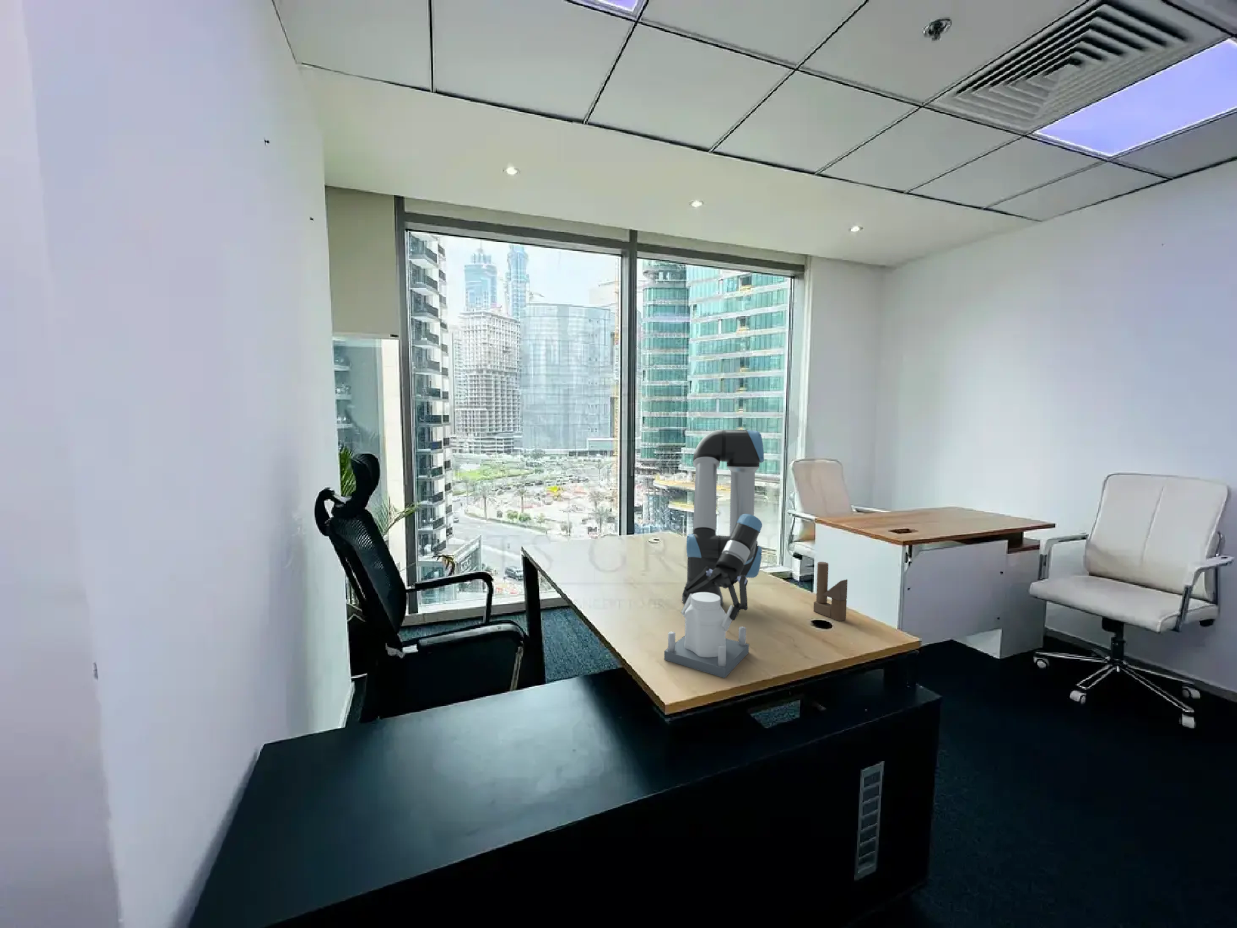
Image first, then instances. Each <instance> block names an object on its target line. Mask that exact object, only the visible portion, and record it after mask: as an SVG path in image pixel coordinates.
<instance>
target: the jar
mask: <svg viewBox="0 0 1237 928" xmlns="http://www.w3.org/2000/svg"><path fill="white" fill-rule="evenodd" d="M720 600H721V598H720V596H718V595H717V594H714V593H708V592H698V593H694V594H692V595H691V604H690V606H689V607H688V608H687V610H686V611H685V617H684V618H685V619H684V624H685V625H684V636H685V644H684V647H685V648H686V649H688V650H691V651H693V652H694V653H696V654H697V655H698V656H699V657H707V658H710V657H718V646H719V645H724V646H726V645H725V638H726V637H727V636H726V632H727V631H725V630H724V629H723V628H722V626H721V625H722V623H723V620H724V618H725V616H726V614H727V612H726V611H725V610H724V608H723V606H722V605H720V604H721V603H720V602H721V601H720Z"/></svg>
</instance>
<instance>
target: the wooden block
mask: <svg viewBox="0 0 1237 928" xmlns="http://www.w3.org/2000/svg"><path fill="white" fill-rule="evenodd" d="M816 567H817V568H816V598H815V600H816V601H814V602H813V612H814V611H815V613H817V614H820V615H822V616H825V617H828V618H831V619H832V620H835V621H837V622H843V621H845V620H847V601H848V600H847V599H848V581H849V580H848V579H847V578H846V579H843V580H842V579H841V580H840V581H839V582H837V583H836V584H835V585H833V586H832V587H831V588H830V589H828V588H829V587H828V585H829V563H828V562H826V561H818V562H817V566H816ZM828 598H831V600H830V601H831V602H829V603H828Z"/></svg>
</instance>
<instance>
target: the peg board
mask: <svg viewBox="0 0 1237 928" xmlns="http://www.w3.org/2000/svg"><path fill="white" fill-rule="evenodd" d="M667 635H668V637H667V648H666V649H665V650H664V654H663V656H664V657H663V659H664V661H668V662H671V663H673V664H674V663H675V664H678V665H680V666H684V667H687V668H691V669H694V670H698V671H700V672H703V673H707V674H710V675H713V676H717V677H720V678H723V679H726V677H727V676H729V675H730V673H731V672H732V671H733V670H734V669H735V668H736V667H737V666H738V665H739V664H740V663H741V662H742V661H743V659H745V657H746V656H747V655H748V654H749V653H750V652H749V651H750V644H749V643H747V642H746V641H747V637H746V636H747V627H746V626H739V627H738V641H737V640H735V639H730V638H726V637H725V645H726V646H724V645H719V646H718V657H710V658H707V657H699V656H698V655H697V654H696V653H694V652H693V651H691V650H688V649H686V648H685V647H684V644H685V635H684V636H683V637H681V638H680V639H678V640H677V641H676V632H675V631H669V632H668V633H667Z"/></svg>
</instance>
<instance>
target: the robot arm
mask: <svg viewBox="0 0 1237 928" xmlns="http://www.w3.org/2000/svg"><path fill="white" fill-rule="evenodd" d="M764 461H765V451H764V443H763V437H762V434H761V433H760V431H758V430H753V429H716V430H713V431H710V432H709V433H707V434H706V435H704V436H703V437H702V439H701V440H700V441H699V443H698V444H697V445H696V447H695V450H694V453H693V457H692V465H693V467H694V468H695V473H694V475H695V476H694V501H693V502H694V503H693V504H694V505H693V522H692V523H693V524H692V525H693V526H692V527H693V528H692V529H693V530H692V533H689V534H687V536H686V557H687V562H686V563H687V565H686V567H687V568H686V569H687V571H686V574H687V575H686V583H685V587H684V588H683V591H682V595H681V602H682V601H683V602H682V604H684V605H683V608H682V609H681V611H680V613H681V615H682V616H683V617H684V618H685V611H686V610H687V608H688V607H689V606H690V604H691V595H692V594H694V593H698V592H708V593H714V594H717V595H718V596H720V598H721V600H720V601H721V602H720V603H721V604H720V605H721V606H723V604H724V596H723V593H722V590H721V588H723V589H727V590H728V591H729V594H730V597H731V600H732V604H730V606H729V607H728V608H727V609H728V610H727V612H726V616H725V618H724V620H723V623H722V625H721V626H722V628H723V629H724V630H725V631H726V632H728V631H729V629H730V627H731V623H732V621H735V620H736V619H737V616H738V614H739V612H740V611H741V610H742V611H747V610H748V609H749V607H748V592H747V586H748V582H749V580H748V579H747V578H749V579H754V578H756V577H758V575H759V573H760V568H761V563H762V553H763V548H762V546H760V545H758V544H759V542H758V537H759V535H760V533H761V530H762V527H763V523H762V520H760V518H758V517H757V516H756V515H755V494H756V493H755V491H756V490H755V487H756V484H755V483H756V480H755V479H756V471H758V469H760V463H763V462H764ZM721 462H725V463H726V468H728V469H729V470H730V495H729V497H730V499H729V500H730V501H729V503H730V504H729V535H717V534H716V532H717V531H716V529H717V485H718V482H717V479H718V476H717V475H718V468H719V467H720V464H721ZM737 582H738V583H739V585H738V586H739V588H738V589H739V598H738V595H737V593H736V587H735V586H734V585H735V584H736V583H737Z"/></svg>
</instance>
